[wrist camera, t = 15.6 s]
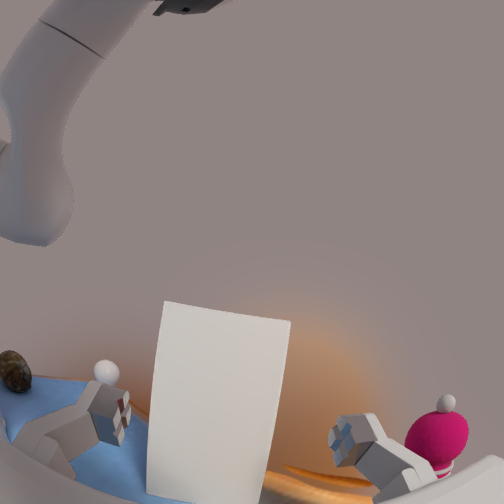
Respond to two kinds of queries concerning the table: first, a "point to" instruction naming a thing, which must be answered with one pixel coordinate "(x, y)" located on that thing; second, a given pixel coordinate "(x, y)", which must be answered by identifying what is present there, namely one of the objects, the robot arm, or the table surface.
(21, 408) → the table surface
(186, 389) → the cabinet
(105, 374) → the lightbulb
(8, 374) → the seashell
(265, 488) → the table surface
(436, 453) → the pepper mill
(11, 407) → the table surface
